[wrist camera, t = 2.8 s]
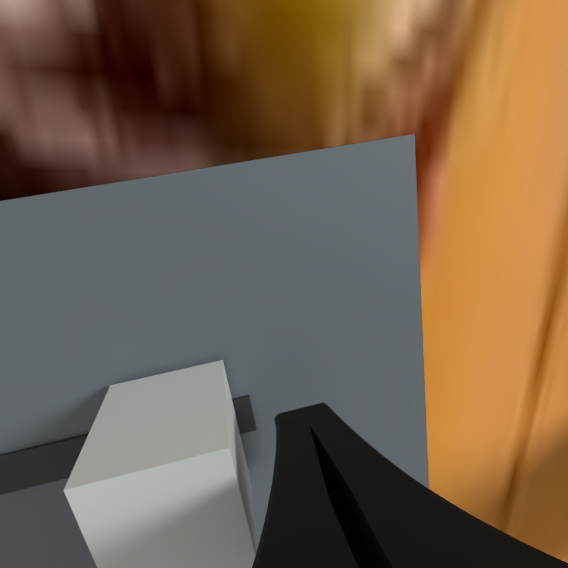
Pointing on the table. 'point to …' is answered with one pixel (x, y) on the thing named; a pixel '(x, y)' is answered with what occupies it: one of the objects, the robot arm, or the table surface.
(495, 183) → the table surface
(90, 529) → the block
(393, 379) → the switch board
